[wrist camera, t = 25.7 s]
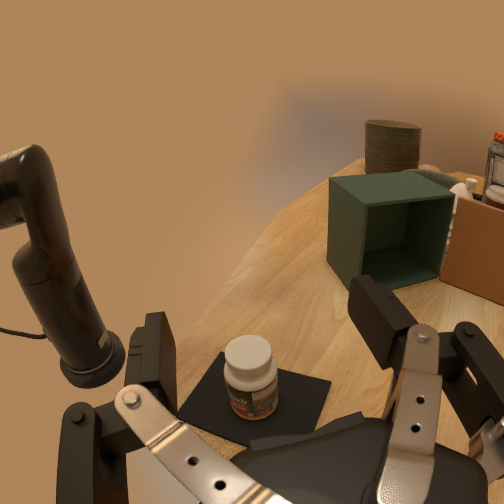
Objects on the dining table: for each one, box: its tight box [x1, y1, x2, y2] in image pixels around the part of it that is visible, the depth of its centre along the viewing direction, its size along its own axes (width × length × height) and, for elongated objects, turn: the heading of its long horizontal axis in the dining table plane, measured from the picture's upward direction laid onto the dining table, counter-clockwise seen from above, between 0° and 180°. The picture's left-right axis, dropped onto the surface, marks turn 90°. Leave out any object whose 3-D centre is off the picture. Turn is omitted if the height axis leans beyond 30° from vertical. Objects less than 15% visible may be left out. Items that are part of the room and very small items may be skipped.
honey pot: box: [441, 178, 478, 268], centre depth 54 cm, size 13×13×18 cm
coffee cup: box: [485, 185, 504, 210], centre depth 63 cm, size 9×9×12 cm
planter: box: [365, 119, 422, 174], centre depth 104 cm, size 22×22×20 cm
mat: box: [175, 352, 331, 448], centre depth 35 cm, size 16×12×1 cm
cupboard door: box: [440, 196, 504, 305], centre depth 43 cm, size 6×19×17 cm, turn 45°
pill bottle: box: [224, 335, 278, 420], centre depth 32 cm, size 6×6×10 cm
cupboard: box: [327, 171, 456, 291], centre depth 52 cm, size 13×19×17 cm
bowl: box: [402, 169, 462, 190], centre depth 75 cm, size 21×21×10 cm
